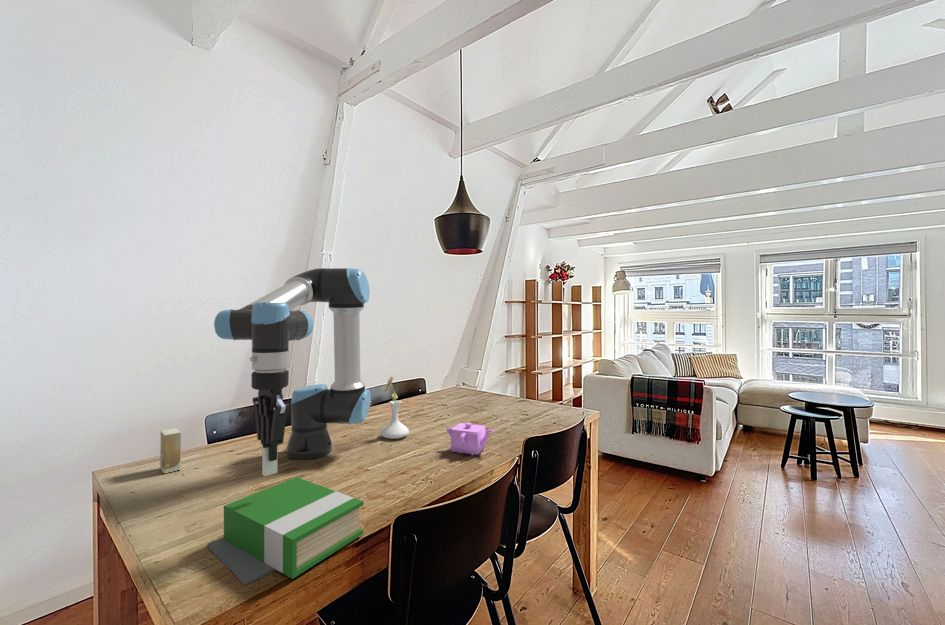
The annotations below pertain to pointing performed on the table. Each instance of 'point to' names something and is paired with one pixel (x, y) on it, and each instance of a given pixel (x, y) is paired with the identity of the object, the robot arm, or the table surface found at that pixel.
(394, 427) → the flower in vase
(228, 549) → the felt mat
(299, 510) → the hardback book
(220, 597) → the table surface
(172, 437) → the skincare box
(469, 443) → the teapot
